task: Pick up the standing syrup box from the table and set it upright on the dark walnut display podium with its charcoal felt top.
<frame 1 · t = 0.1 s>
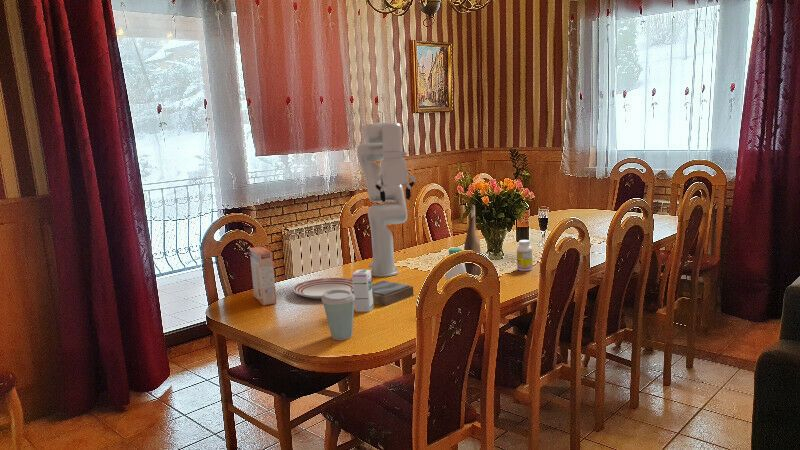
hand: (395, 200, 229), 37 cm above the table, tool pointing down, fingers open, 9 cm apart
syrup box: (364, 309, 218), on the table
dinner plate: (327, 293, 243), on the table
supplement bottle: (524, 269, 261), on the table
grey vase: (472, 280, 249), on the table
disposable coffee cup: (341, 337, 192), on the table
cracker box: (265, 301, 236), on the table
podium: (384, 297, 232), on the table
milk bottle: (457, 301, 222), on the table
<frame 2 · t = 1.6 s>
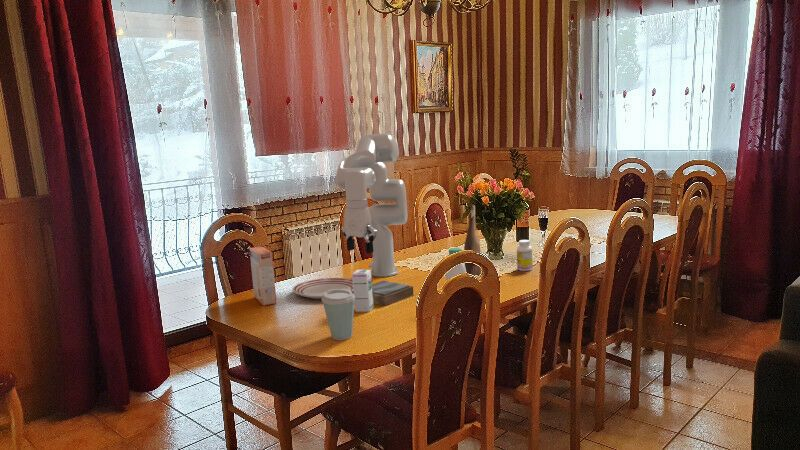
hand: (360, 251, 214), 22 cm above the table, tool pointing down, fingers open, 9 cm apart
nothing on the table moved.
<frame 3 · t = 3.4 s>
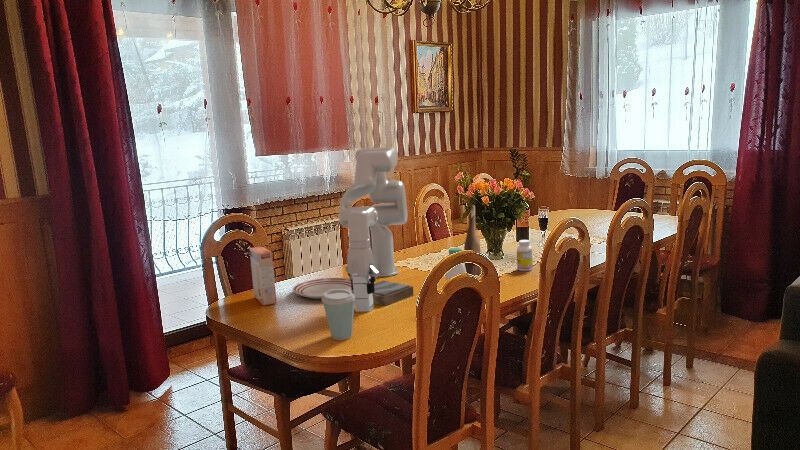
hand: (363, 291, 217), 7 cm above the table, tool pointing down, fingers closed on syrup box, 7 cm apart
syrup box: (364, 309, 218), on the table, touching gripper
everything else where it was.
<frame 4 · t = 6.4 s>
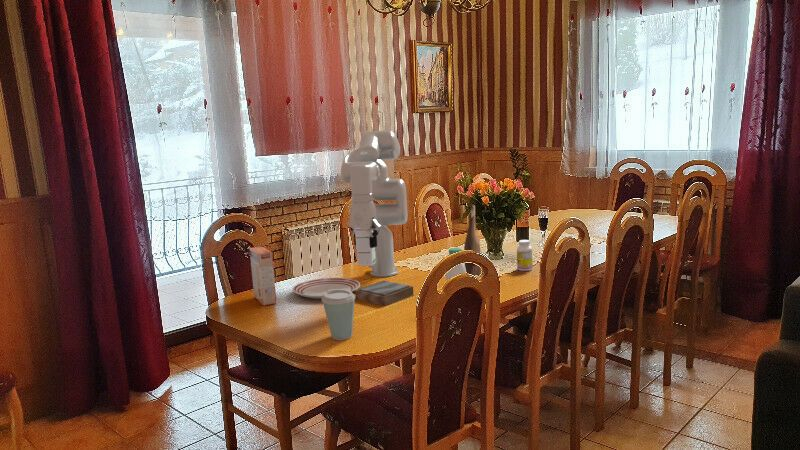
hand: (365, 245, 218), 23 cm above the table, tool pointing down, fingers closed on syrup box, 7 cm apart
syrup box: (367, 264, 219), point 16 cm above the table, touching gripper
everything else where it was.
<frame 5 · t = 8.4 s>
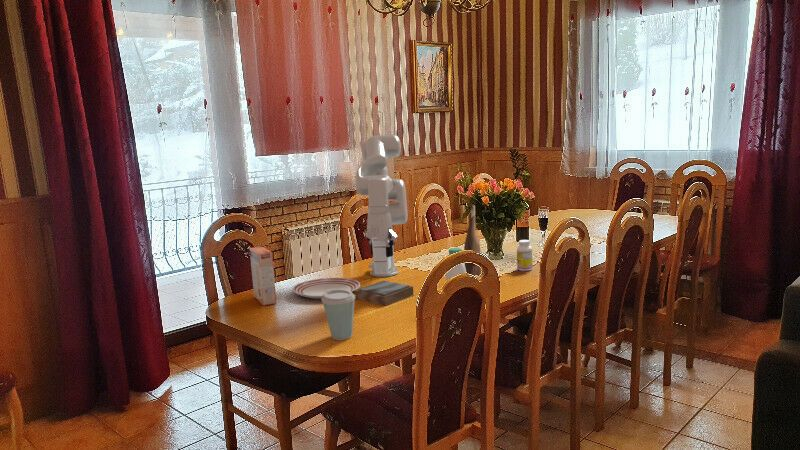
hand: (382, 255, 229), 17 cm above the table, tool pointing down, fingers closed on syrup box, 7 cm apart
syrup box: (383, 272, 230), point 10 cm above the table, touching gripper
everything else where it was.
when the fingers open (12 cm above the table, at t = 9.8 s): syrup box drops 1 cm, resting on podium.
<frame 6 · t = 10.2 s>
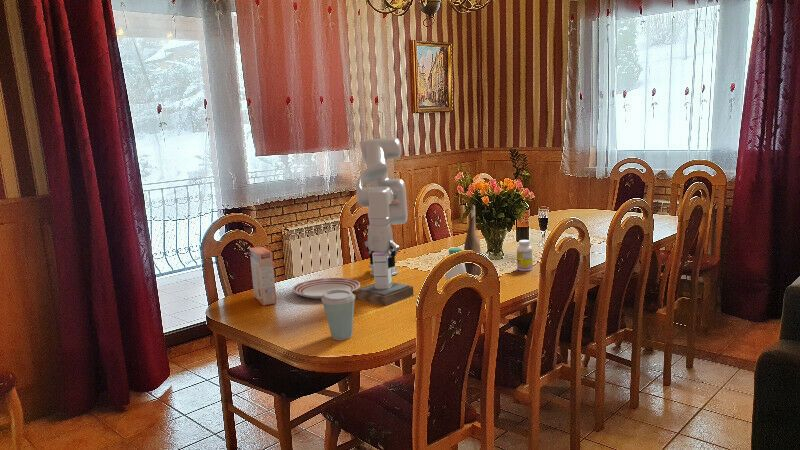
hand: (382, 265, 230), 13 cm above the table, tool pointing down, fingers open, 9 cm apart
syrup box: (383, 287, 232), point 4 cm above the table, touching podium
everything else where it was.
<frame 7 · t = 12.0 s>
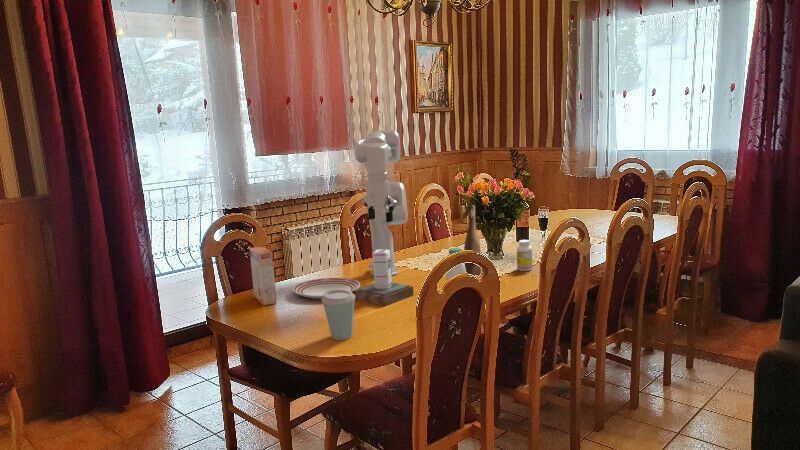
hand: (380, 220, 234), 29 cm above the table, tool pointing down, fingers open, 9 cm apart
nothing on the table moved.
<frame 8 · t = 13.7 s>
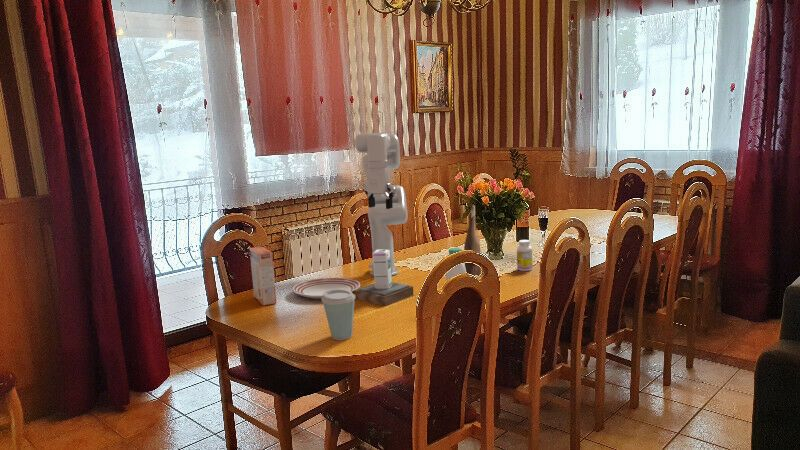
hand: (380, 207, 239), 33 cm above the table, tool pointing down, fingers open, 9 cm apart
nothing on the table moved.
at the end: syrup box inside the target area on the podium (0.4 cm from its centre), point 3.8 cm above the podium's base; syrup box tilted 0°; the gripper is holding nothing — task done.
